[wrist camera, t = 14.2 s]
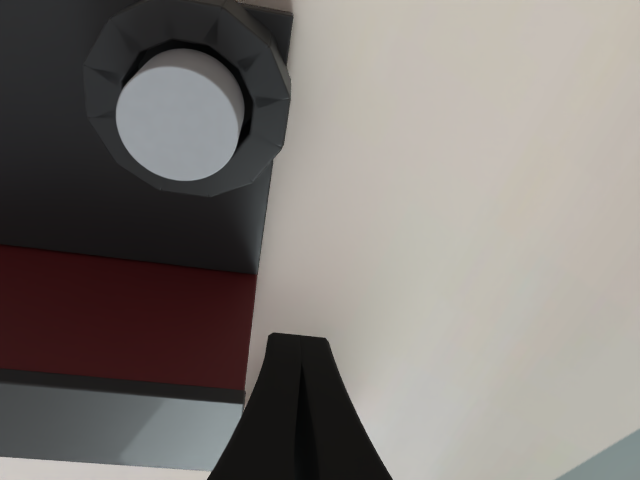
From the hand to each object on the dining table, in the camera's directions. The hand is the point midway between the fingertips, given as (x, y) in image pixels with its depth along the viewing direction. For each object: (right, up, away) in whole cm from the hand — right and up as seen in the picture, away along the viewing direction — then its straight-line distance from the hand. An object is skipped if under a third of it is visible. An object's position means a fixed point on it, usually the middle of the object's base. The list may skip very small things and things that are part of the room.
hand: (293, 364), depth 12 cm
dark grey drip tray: (-8, +7, +7) cm, 13 cm away
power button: (-4, +8, +5) cm, 10 cm away
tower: (-9, +1, +11) cm, 15 cm away
